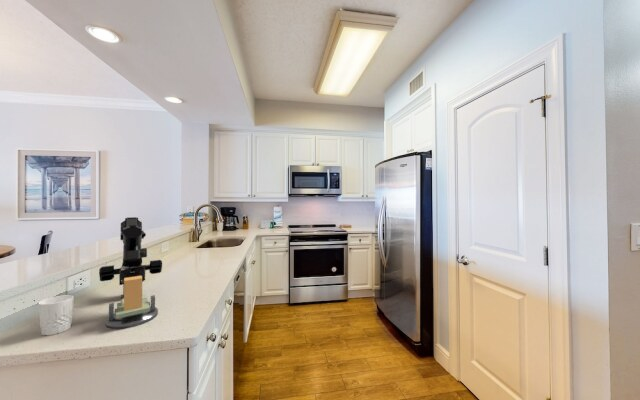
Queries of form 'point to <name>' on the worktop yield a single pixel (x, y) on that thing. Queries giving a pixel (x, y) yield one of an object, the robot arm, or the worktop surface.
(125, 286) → the orange and green block
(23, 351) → the worktop surface
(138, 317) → the base
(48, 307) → the white cup
